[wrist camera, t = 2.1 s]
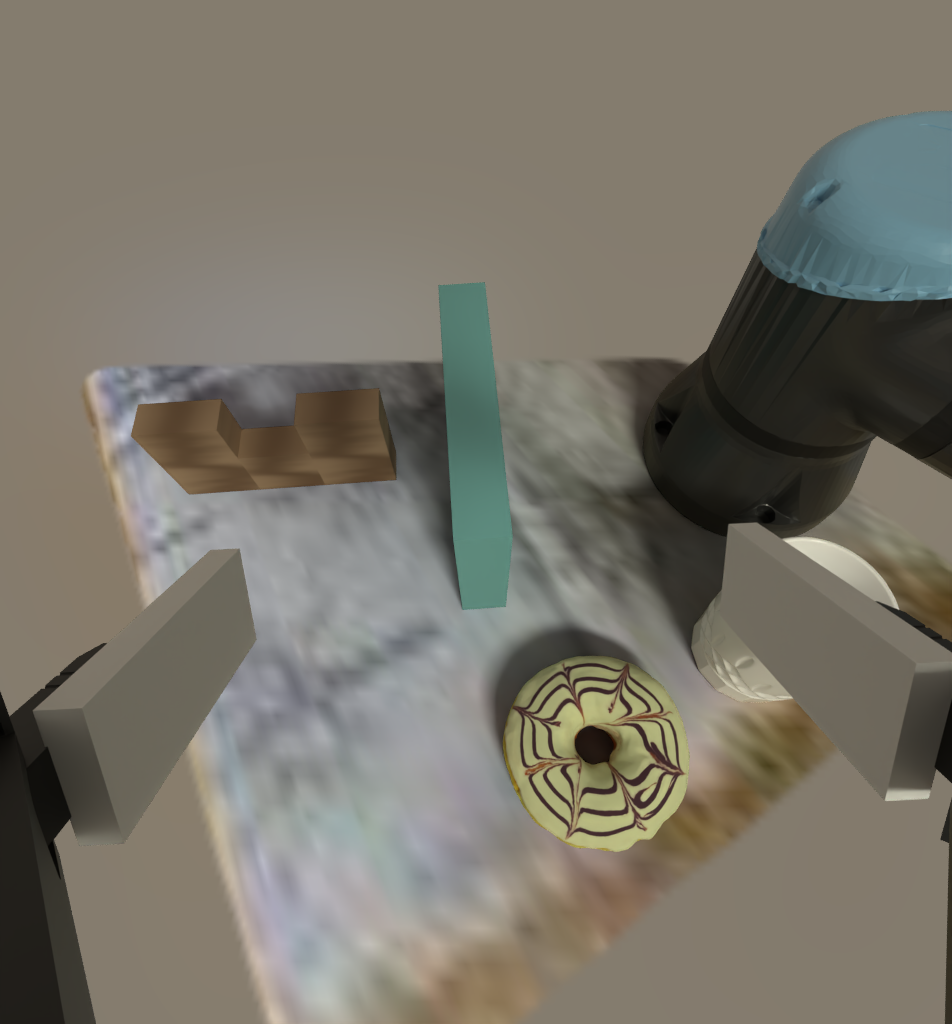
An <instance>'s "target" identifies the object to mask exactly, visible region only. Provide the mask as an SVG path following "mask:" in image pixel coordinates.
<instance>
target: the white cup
mask: <svg viewBox="0 0 952 1024" xmlns="http://www.w3.org/2000/svg"><path fill="white" fill-rule="evenodd" d="M782 540H784V541H785V542H787V543H788V544H790V545H791V546H793V547H794V548H796V549H797V550H799V551H800V552H802V553H803V554H805V555H806V556H808V557H809V558H811V559H812V560H814V561H815V562H817V563H818V564H820V565H821V566H823V567H824V568H826V569H827V570H829V571H830V572H832V573H833V574H835V575H836V576H838V577H839V578H841V579H842V580H844V581H845V582H847V583H848V584H850V585H851V586H853V587H854V588H856V589H857V590H859V591H860V592H862V593H863V594H865V595H866V596H868V597H869V598H871V599H872V600H874V601H878V602H881V603H883V604H886V605H888V606H891V607H893V608H896V609H898V610H899V608H898V605H897V602H896V600H895V598H894V596H893V594H892V592H891V590H890V588H889V587H888V585H887V584H886V582H885V581H884V580H883V578H882V577H881V576H880V575H879V573H878V572H877V571H876V570H875V569H874V568H873V567H872V566H871V565H870V564H869V563H867V562H866V561H865V560H864V559H862V558H861V557H860V556H858V555H857V554H855V553H854V552H852V551H850V550H849V549H847V548H845V547H843V546H841V545H838V544H836V543H833V542H831V541H828V540H824V539H820V538H815V537H805V536H797V537H788V538H783V539H782ZM721 594H722V590H721V591H720V592H719V593H718V594H717V596H716V597H715V598H714V599H713V601H712V602H711V603H710V604H709V606H708V608H707V609H706V610H705V612H704V613H703V614H702V616H701V617H700V618H699V620H698V621H697V622H696V624H695V625H694V628H693V636H692V644H691V649H692V652H693V655H694V658H695V661H696V664H697V667H698V670H699V671H700V672H701V674H702V675H703V676H704V677H705V678H706V679H707V681H708V682H709V683H710V684H711V685H712V686H713V687H714V689H715V690H717V691H719V692H721V693H723V694H725V695H727V696H729V697H731V698H733V699H734V700H736V701H739V702H754V703H765V702H770V701H777V700H787V699H792V698H793V697H792V696H791V695H790V694H789V693H788V692H787V691H786V690H785V688H784V687H783V686H782V685H781V684H780V683H779V682H778V681H777V679H776V678H775V677H774V676H773V675H772V674H771V673H770V672H769V670H768V669H767V668H766V667H765V666H764V665H763V664H762V663H761V661H760V660H759V659H758V658H757V657H756V656H755V655H754V654H753V653H752V651H751V650H750V649H749V648H748V647H747V646H746V645H745V644H744V642H743V641H742V640H741V639H740V638H739V637H738V636H737V635H736V633H735V632H734V631H733V630H732V629H731V628H730V627H729V626H728V624H727V623H726V622H725V621H724V620H723V619H722V618H721V617H720V615H719V613H720V603H721Z"/></svg>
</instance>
